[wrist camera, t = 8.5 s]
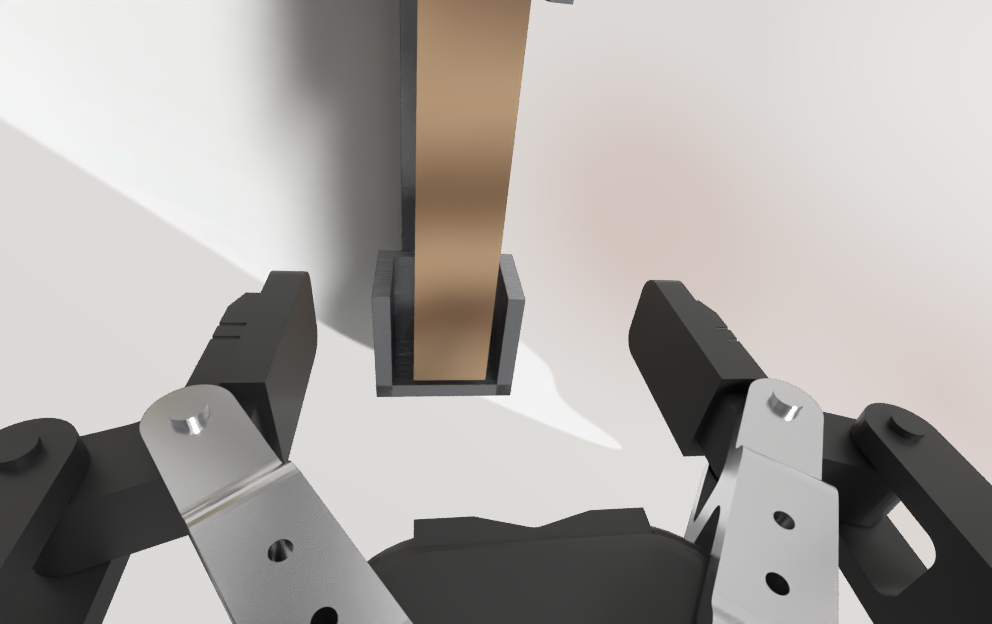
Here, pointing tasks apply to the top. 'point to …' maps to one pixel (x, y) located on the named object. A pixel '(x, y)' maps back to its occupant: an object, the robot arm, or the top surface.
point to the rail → (462, 175)
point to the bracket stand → (398, 274)
